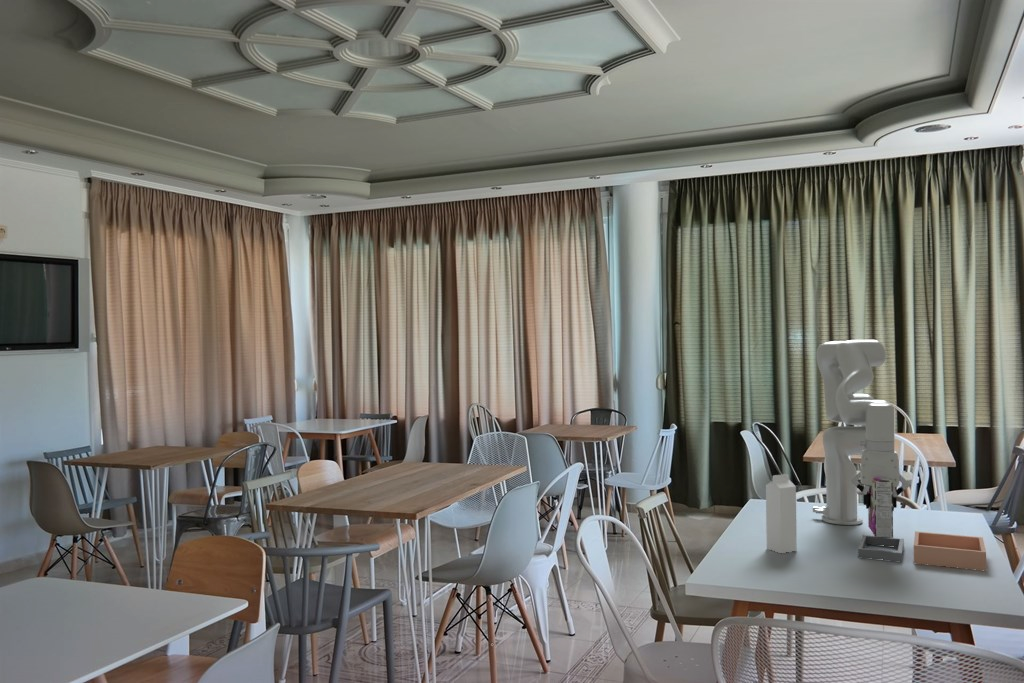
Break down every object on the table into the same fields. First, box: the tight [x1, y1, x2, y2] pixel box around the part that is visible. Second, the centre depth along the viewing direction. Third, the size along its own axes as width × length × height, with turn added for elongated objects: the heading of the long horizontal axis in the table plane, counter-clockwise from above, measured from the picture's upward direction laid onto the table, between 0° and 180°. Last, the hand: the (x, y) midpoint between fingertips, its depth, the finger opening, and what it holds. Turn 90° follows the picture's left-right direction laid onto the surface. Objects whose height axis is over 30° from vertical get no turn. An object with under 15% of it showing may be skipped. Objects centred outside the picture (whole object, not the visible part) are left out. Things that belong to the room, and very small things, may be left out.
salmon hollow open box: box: [913, 531, 987, 572], centre depth 223 cm, size 17×17×5 cm
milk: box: [765, 473, 798, 554], centre depth 235 cm, size 6×6×22 cm
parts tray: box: [857, 534, 905, 563], centre depth 231 cm, size 11×17×2 cm, turn 152°
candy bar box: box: [867, 478, 894, 538], centre depth 231 cm, size 11×5×16 cm, turn 166°
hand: (880, 508), depth 231 cm, fingers closed on candy bar box, 5 cm apart
